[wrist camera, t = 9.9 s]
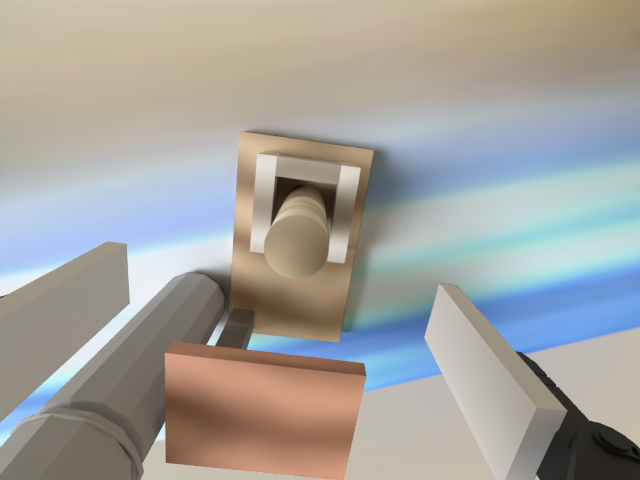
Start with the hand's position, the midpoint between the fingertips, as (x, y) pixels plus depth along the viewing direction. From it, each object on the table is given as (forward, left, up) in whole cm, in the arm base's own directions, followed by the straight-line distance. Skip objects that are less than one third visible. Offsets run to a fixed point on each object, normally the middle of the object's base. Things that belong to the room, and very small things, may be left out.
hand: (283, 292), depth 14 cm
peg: (0, 0, -21) cm, 21 cm away
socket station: (+5, 0, -23) cm, 23 cm away
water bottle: (+15, -11, -23) cm, 29 cm away
